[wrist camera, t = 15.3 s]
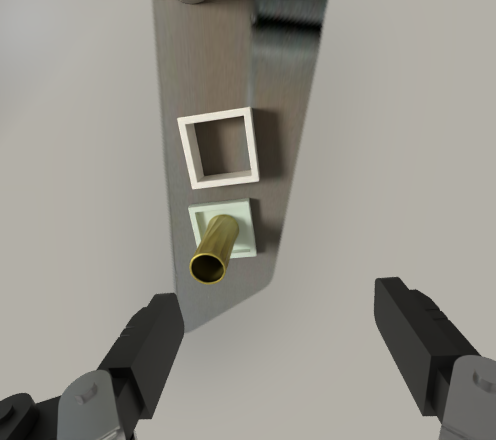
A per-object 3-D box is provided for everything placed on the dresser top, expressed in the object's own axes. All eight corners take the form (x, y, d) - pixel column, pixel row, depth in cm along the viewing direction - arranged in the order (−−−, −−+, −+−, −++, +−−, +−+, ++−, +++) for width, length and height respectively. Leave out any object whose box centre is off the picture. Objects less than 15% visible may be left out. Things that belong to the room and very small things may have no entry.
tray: (191, 204, 50) (188, 207, 48) (249, 197, 49) (248, 201, 47) (202, 255, 54) (200, 260, 52) (256, 251, 53) (256, 255, 51)
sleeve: (186, 117, 45) (177, 118, 40) (251, 107, 43) (249, 107, 39) (199, 182, 49) (192, 189, 44) (260, 174, 47) (259, 181, 43)
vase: (245, 235, 51) (236, 277, 38) (218, 248, 53) (201, 293, 39) (228, 208, 49) (213, 243, 36) (201, 222, 51) (177, 261, 38)
